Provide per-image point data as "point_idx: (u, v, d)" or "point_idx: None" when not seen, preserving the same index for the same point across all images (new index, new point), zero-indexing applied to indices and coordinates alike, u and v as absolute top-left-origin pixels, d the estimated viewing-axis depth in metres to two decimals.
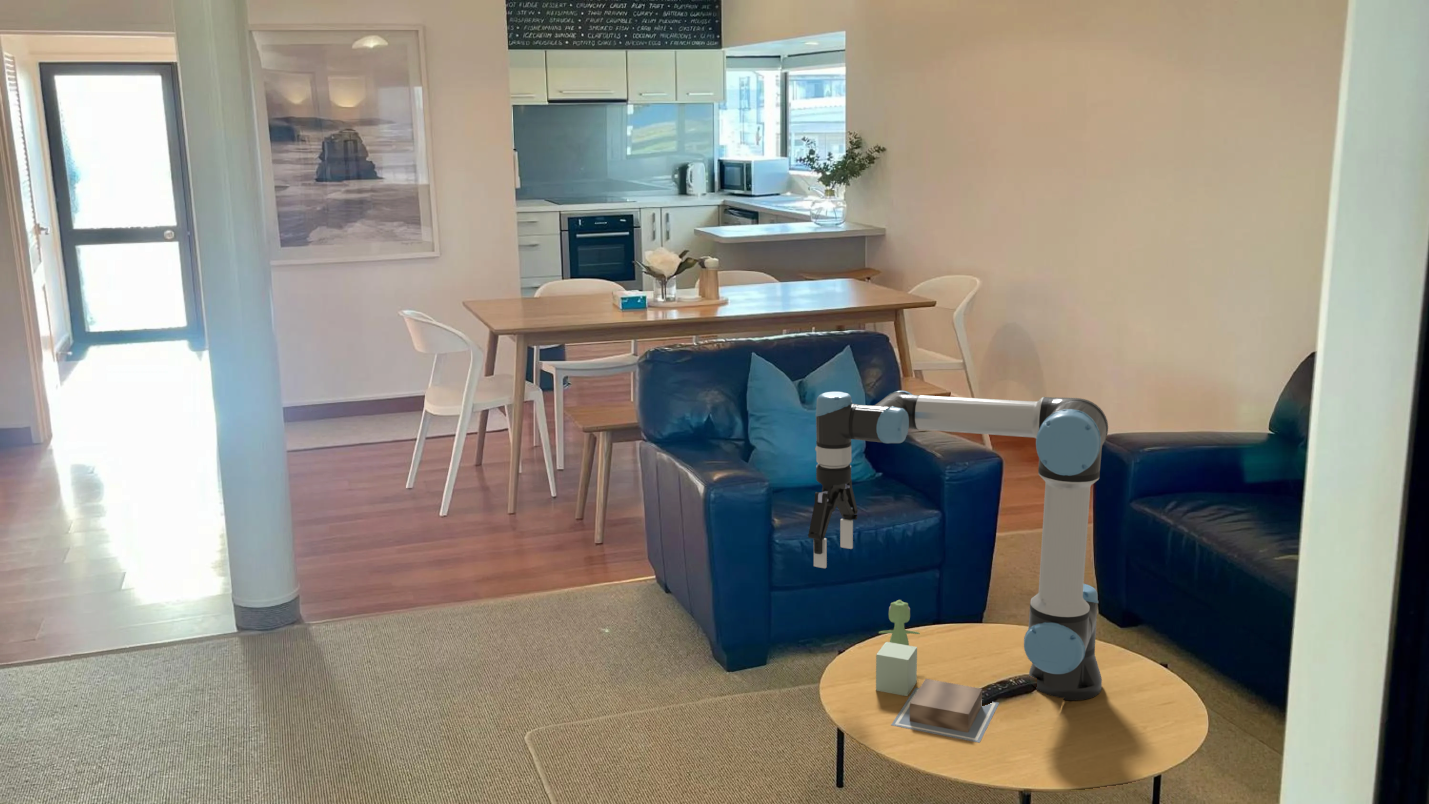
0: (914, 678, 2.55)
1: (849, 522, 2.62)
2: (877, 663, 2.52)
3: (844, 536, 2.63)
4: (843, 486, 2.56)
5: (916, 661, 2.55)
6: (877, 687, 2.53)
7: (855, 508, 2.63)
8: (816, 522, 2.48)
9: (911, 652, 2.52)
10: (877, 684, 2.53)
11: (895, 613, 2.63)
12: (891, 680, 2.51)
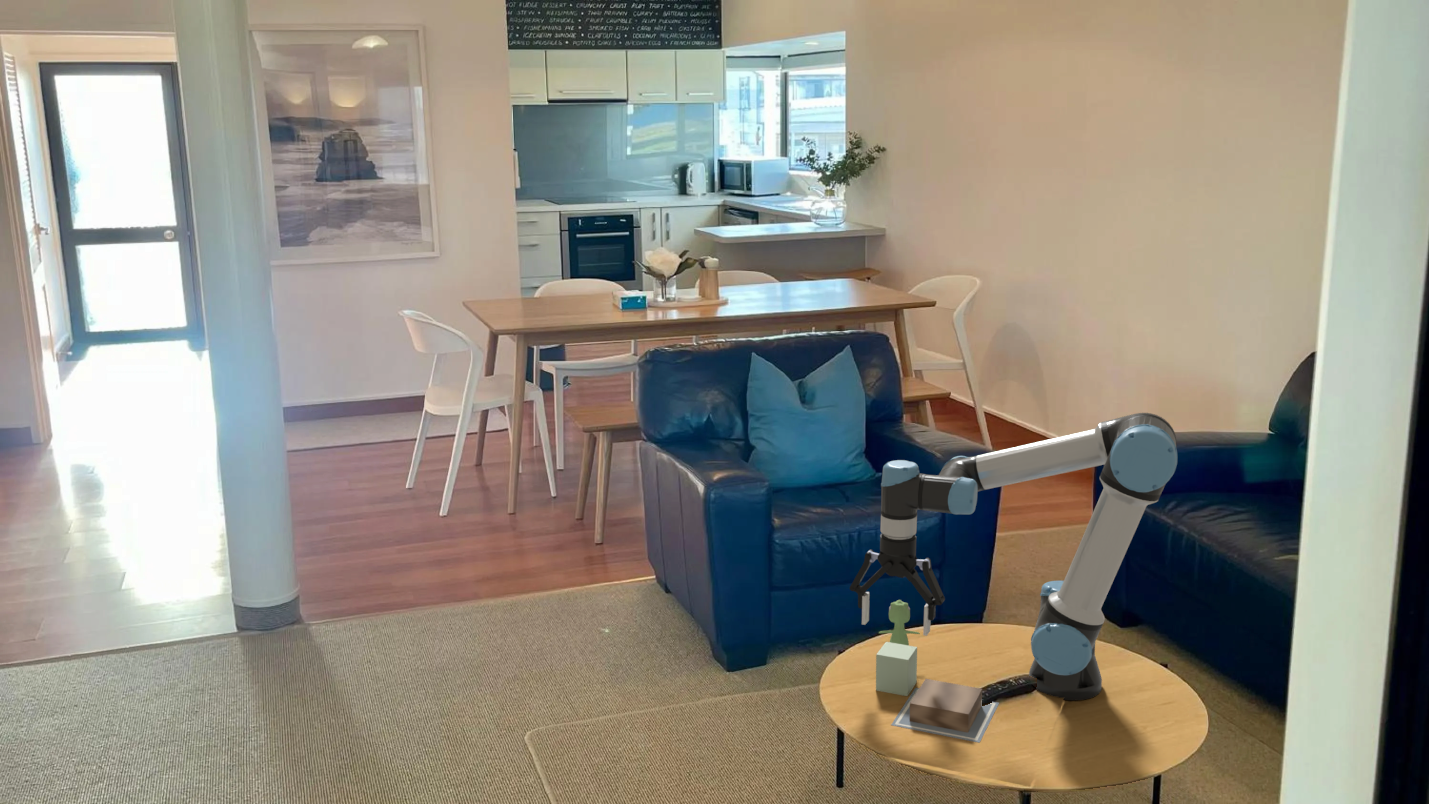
0: (914, 678, 2.55)
1: None
2: (877, 663, 2.52)
3: None
4: (908, 562, 2.47)
5: (916, 661, 2.55)
6: (877, 687, 2.53)
7: (936, 598, 2.46)
8: None
9: (911, 652, 2.52)
10: (877, 684, 2.53)
11: (895, 613, 2.63)
12: (891, 680, 2.51)
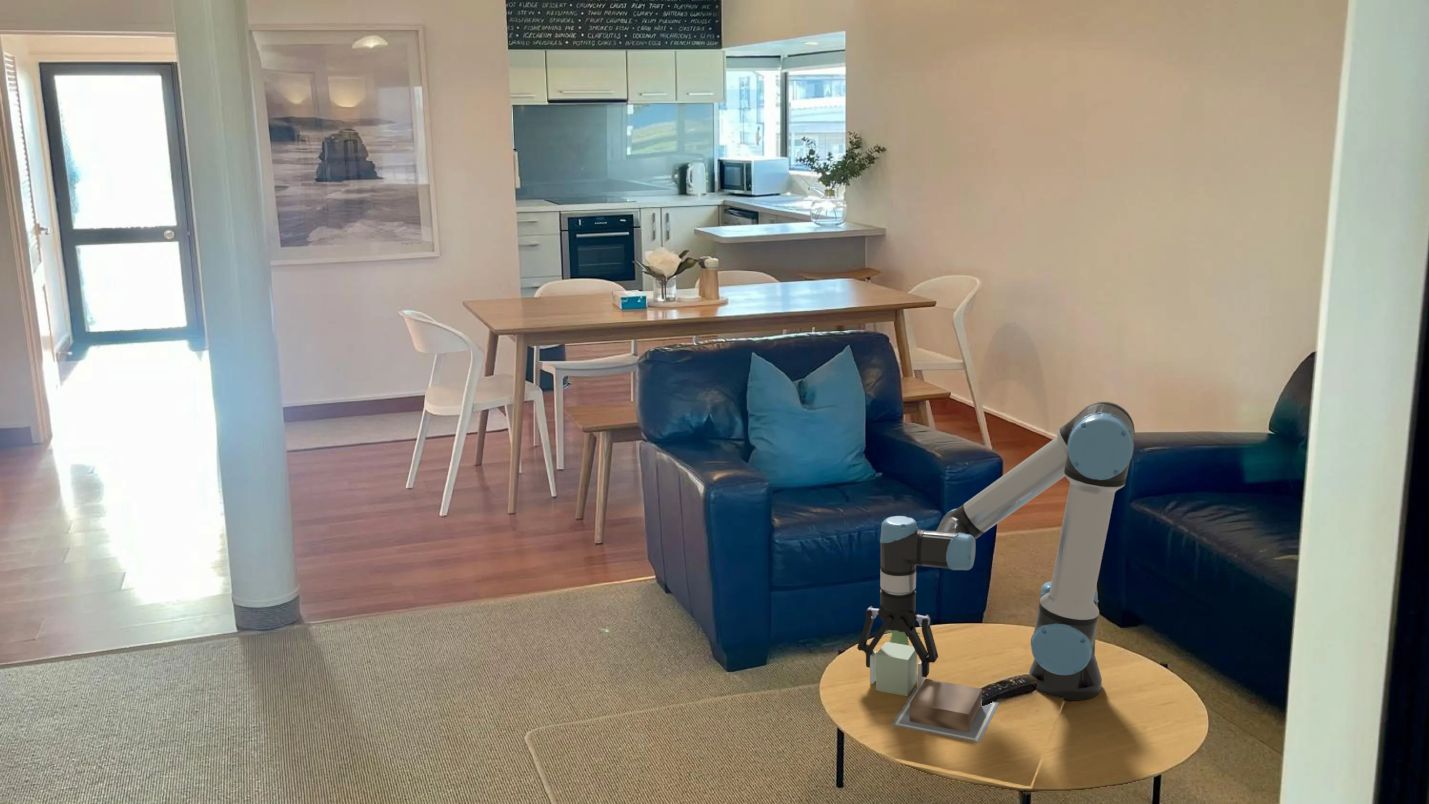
0: (914, 678, 2.55)
1: None
2: (877, 663, 2.52)
3: None
4: (908, 617, 2.49)
5: (916, 661, 2.55)
6: (877, 687, 2.53)
7: (930, 655, 2.49)
8: None
9: (911, 652, 2.52)
10: (877, 684, 2.53)
11: None
12: (891, 680, 2.51)
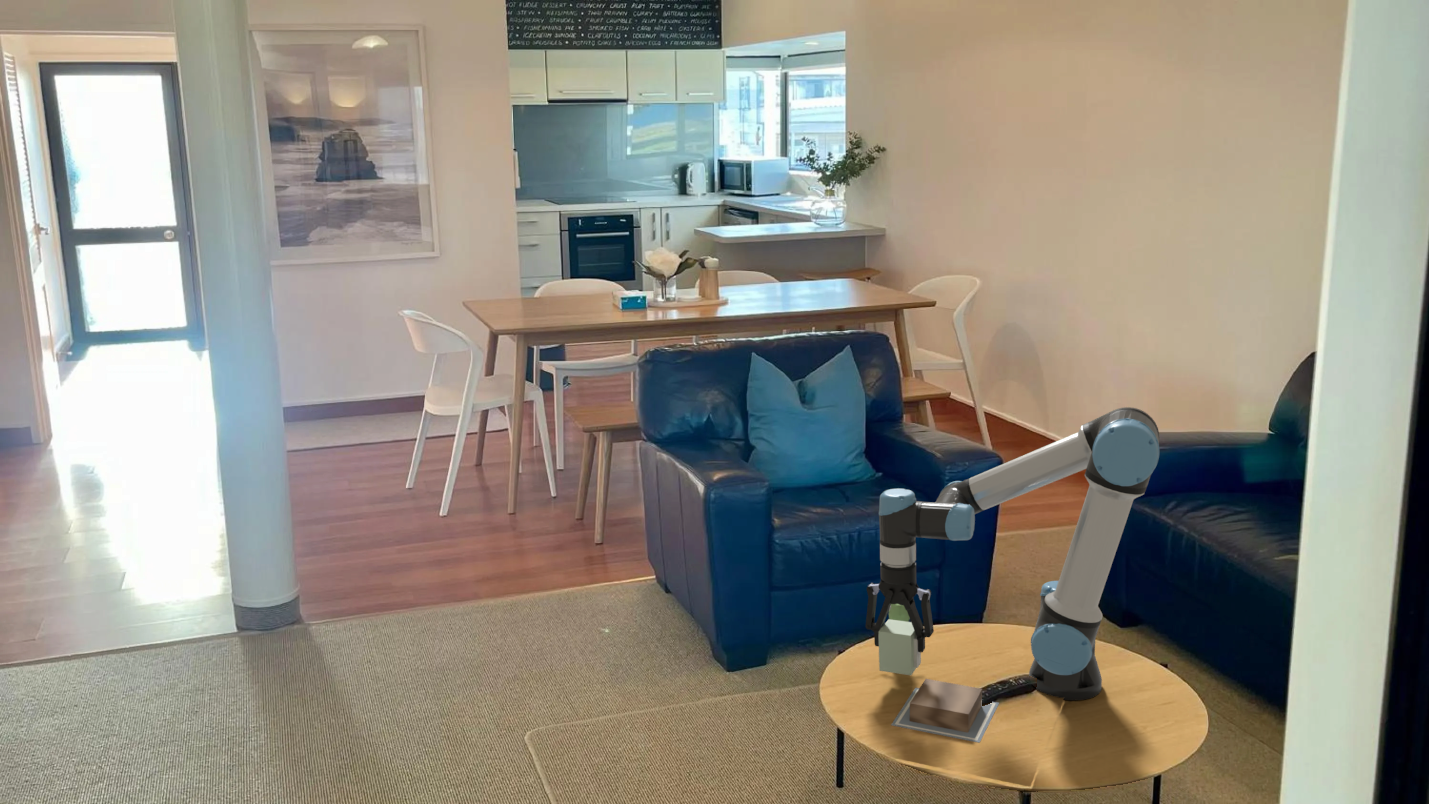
0: None
1: None
2: (880, 640, 2.51)
3: None
4: (909, 589, 2.48)
5: None
6: (880, 664, 2.52)
7: (926, 630, 2.48)
8: None
9: None
10: (880, 661, 2.52)
11: (895, 613, 2.63)
12: (895, 657, 2.50)
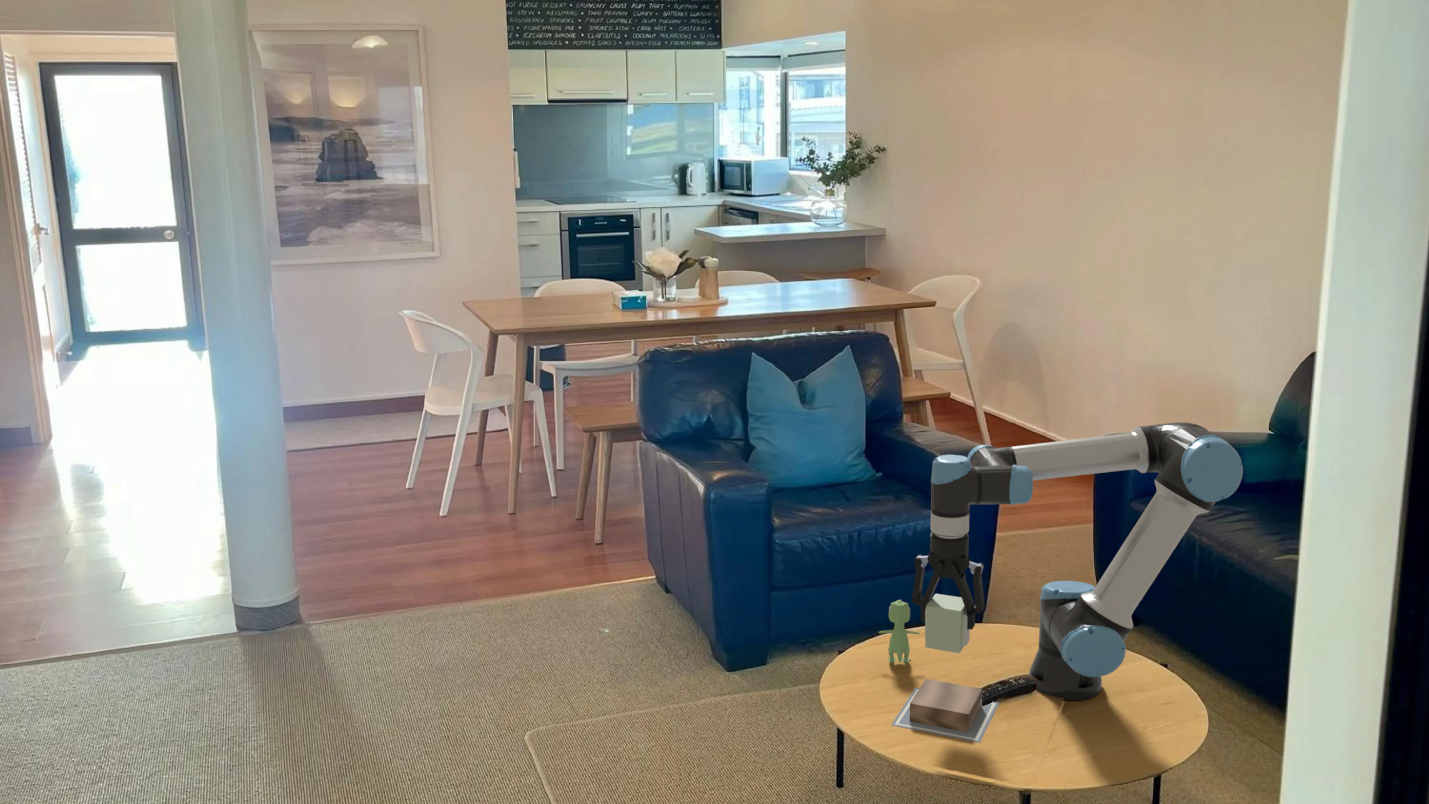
0: None
1: None
2: (927, 615, 2.36)
3: None
4: (961, 562, 2.33)
5: None
6: (927, 641, 2.37)
7: (978, 605, 2.34)
8: None
9: (963, 604, 2.36)
10: (927, 638, 2.37)
11: (895, 613, 2.63)
12: (942, 633, 2.36)
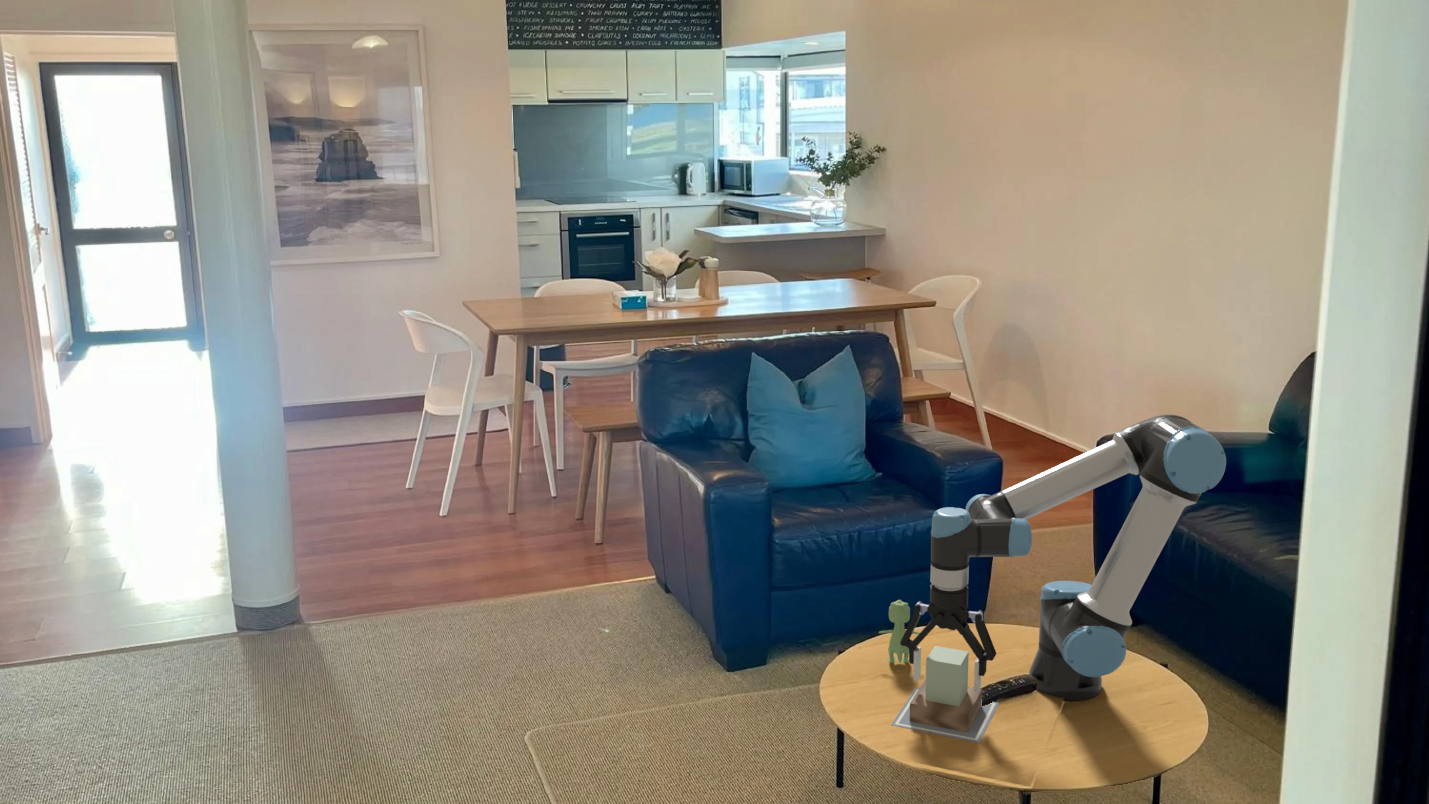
0: (965, 684, 2.41)
1: (975, 662, 2.37)
2: (927, 668, 2.38)
3: None
4: (960, 614, 2.36)
5: (967, 666, 2.42)
6: (927, 694, 2.40)
7: (988, 653, 2.35)
8: None
9: (963, 657, 2.39)
10: (927, 691, 2.39)
11: (895, 613, 2.63)
12: (942, 686, 2.38)
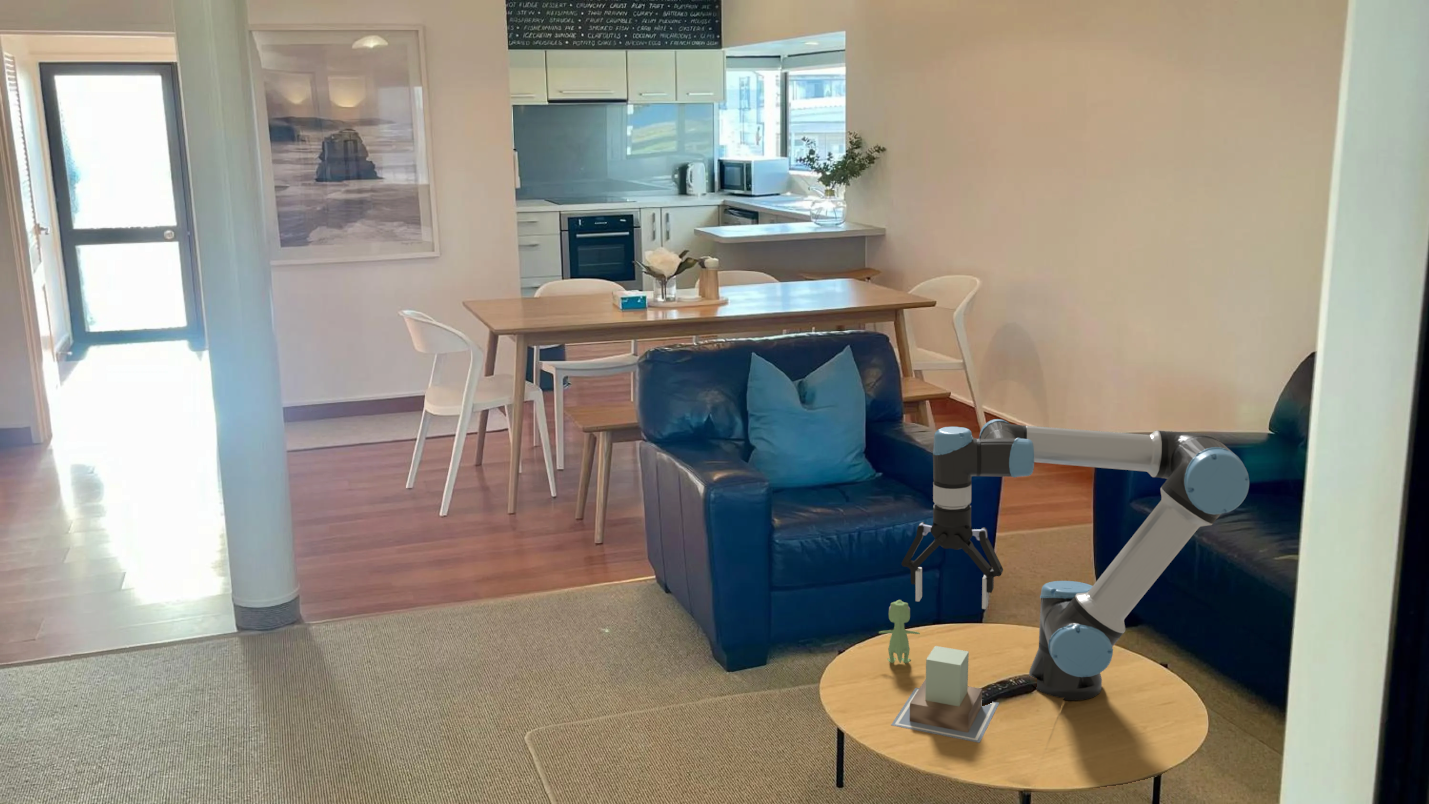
0: (965, 684, 2.41)
1: None
2: (927, 668, 2.38)
3: None
4: (964, 533, 2.36)
5: (967, 666, 2.42)
6: (927, 694, 2.40)
7: (995, 569, 2.35)
8: None
9: (963, 657, 2.39)
10: (927, 691, 2.39)
11: (895, 613, 2.63)
12: (942, 686, 2.38)
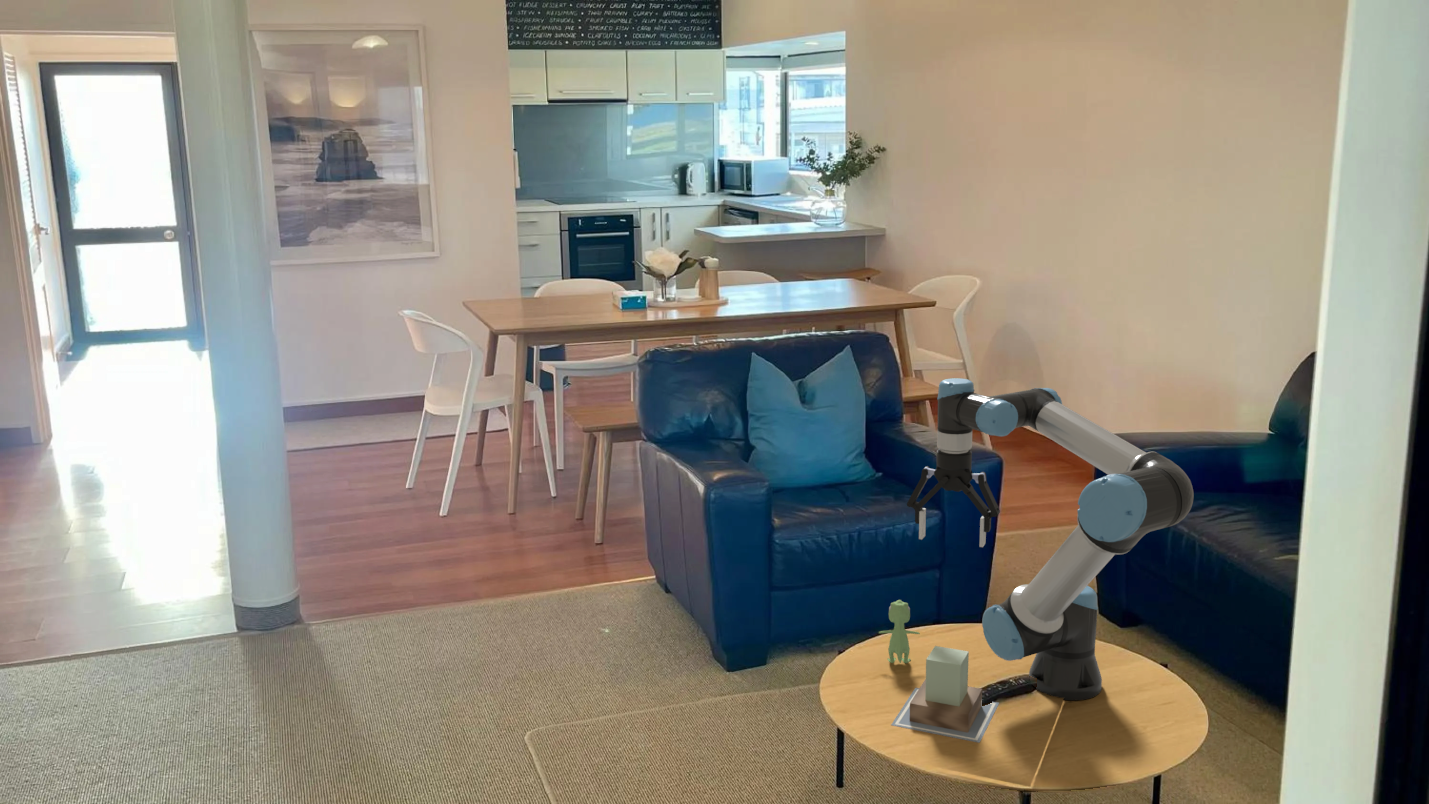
0: (965, 684, 2.41)
1: None
2: (927, 668, 2.38)
3: None
4: (964, 476, 2.56)
5: (967, 666, 2.42)
6: (927, 694, 2.40)
7: (992, 510, 2.55)
8: None
9: (963, 657, 2.39)
10: (927, 691, 2.39)
11: (895, 613, 2.63)
12: (942, 686, 2.38)
